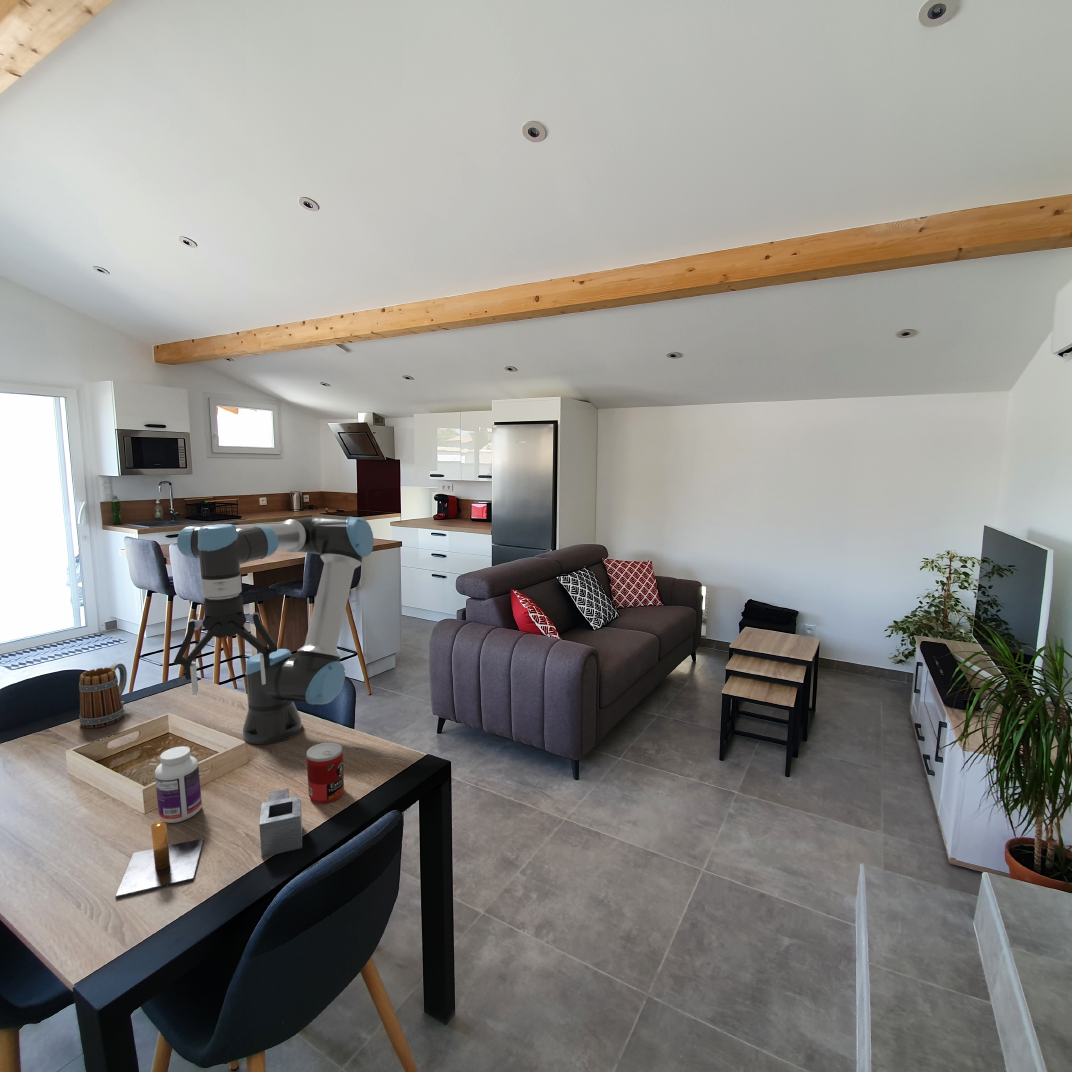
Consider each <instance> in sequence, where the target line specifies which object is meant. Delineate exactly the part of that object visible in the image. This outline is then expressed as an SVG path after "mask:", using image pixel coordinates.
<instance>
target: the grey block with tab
mask: <svg viewBox="0 0 1072 1072" xmlns="http://www.w3.org/2000/svg"><path fill="white" fill-rule="evenodd" d="M286 798H290V789H289V788H283V789H279V790H274V791H269V793H268V801H267V802H271V801H276V800H281V799H286Z"/></svg>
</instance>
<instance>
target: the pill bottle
mask: <svg viewBox="0 0 1072 1072" xmlns="http://www.w3.org/2000/svg"><path fill="white" fill-rule="evenodd" d="M159 757H160V758H159V759H160V763H159V764H158V765H157V767H156V768H155V771H154V779H155V789H156V799H157V808H158V809H157V810H158V817H159V819H160V821H166V824H169V823H170V824H171V823H172V824H174V823H175V824H176V823H180V822H184V821H185V820H188V819H191V818H192V817H194V816H195V815H196V814H197V813H199V812H200V811H201V808H202V804H203V802H202V801H203V800H202V791H201V781H200V779H201V778H200V767H199V761H198V758H195V757H194V756H192V755H191V748H190V747H189V746H175V747H172V748H169V749H166V750H165V751H162V753H161V754H160V756H159Z"/></svg>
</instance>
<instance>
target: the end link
mask: <svg viewBox="0 0 1072 1072" xmlns="http://www.w3.org/2000/svg"><path fill="white" fill-rule="evenodd" d="M260 808H261V809H260V815H259V816H260V817H259V839H260V840H259V841H260V852H261V853H260V855H261V858H264V857H268V856H273V855H277V854H282V853H285V852H290V851H295V850H299V849H303V820H302V800H301V795H297V796H292V797H289V798H286V799H281V800H276V801H271V802H268V801H266V802H262V803H261V807H260Z"/></svg>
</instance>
